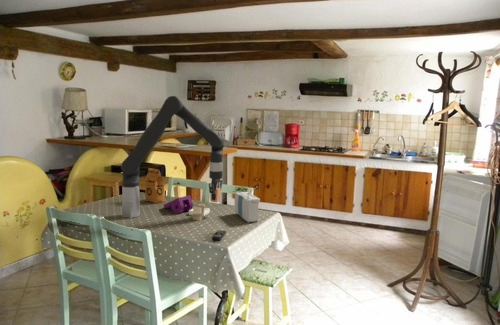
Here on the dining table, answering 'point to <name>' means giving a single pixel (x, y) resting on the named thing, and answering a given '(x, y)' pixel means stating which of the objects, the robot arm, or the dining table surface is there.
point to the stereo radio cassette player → (247, 206)
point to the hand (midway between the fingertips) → (215, 199)
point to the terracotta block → (218, 195)
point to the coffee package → (154, 186)
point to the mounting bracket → (180, 204)
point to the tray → (206, 211)
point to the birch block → (198, 212)
